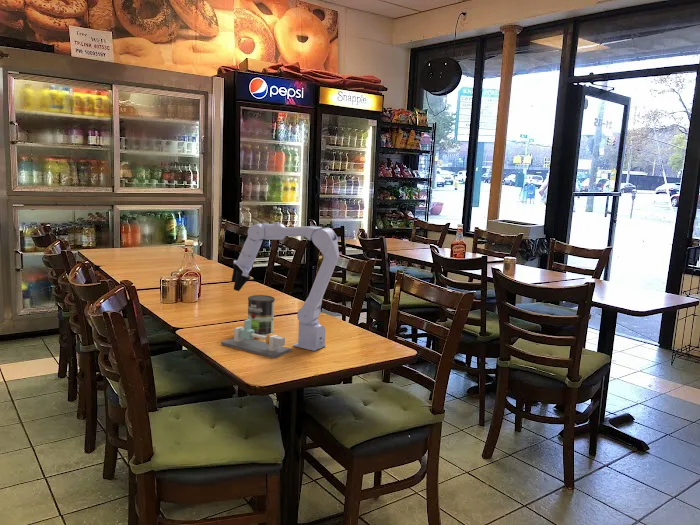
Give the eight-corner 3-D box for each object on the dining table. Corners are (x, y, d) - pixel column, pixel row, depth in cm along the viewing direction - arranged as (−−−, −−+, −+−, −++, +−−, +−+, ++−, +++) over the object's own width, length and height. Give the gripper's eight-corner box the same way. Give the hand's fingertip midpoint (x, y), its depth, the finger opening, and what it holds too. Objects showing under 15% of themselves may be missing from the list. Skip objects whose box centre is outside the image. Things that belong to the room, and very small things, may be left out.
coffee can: (263, 338, 212) (264, 302, 210) (241, 333, 217) (242, 298, 215) (278, 332, 221) (280, 297, 219) (257, 327, 226) (258, 293, 224)
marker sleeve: (254, 337, 202) (254, 320, 201) (248, 339, 199) (249, 321, 198) (245, 335, 204) (246, 318, 203) (240, 337, 201) (240, 319, 200)
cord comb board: (291, 351, 198) (291, 333, 197) (273, 358, 190) (274, 339, 189) (239, 338, 210) (240, 321, 209) (220, 344, 202) (221, 327, 201)
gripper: (236, 243, 211) (223, 275, 214) (240, 257, 198) (226, 290, 201) (253, 249, 214) (240, 280, 217) (259, 263, 201) (245, 296, 204)
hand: (235, 285), depth 209 cm, fingers open, 7 cm apart
